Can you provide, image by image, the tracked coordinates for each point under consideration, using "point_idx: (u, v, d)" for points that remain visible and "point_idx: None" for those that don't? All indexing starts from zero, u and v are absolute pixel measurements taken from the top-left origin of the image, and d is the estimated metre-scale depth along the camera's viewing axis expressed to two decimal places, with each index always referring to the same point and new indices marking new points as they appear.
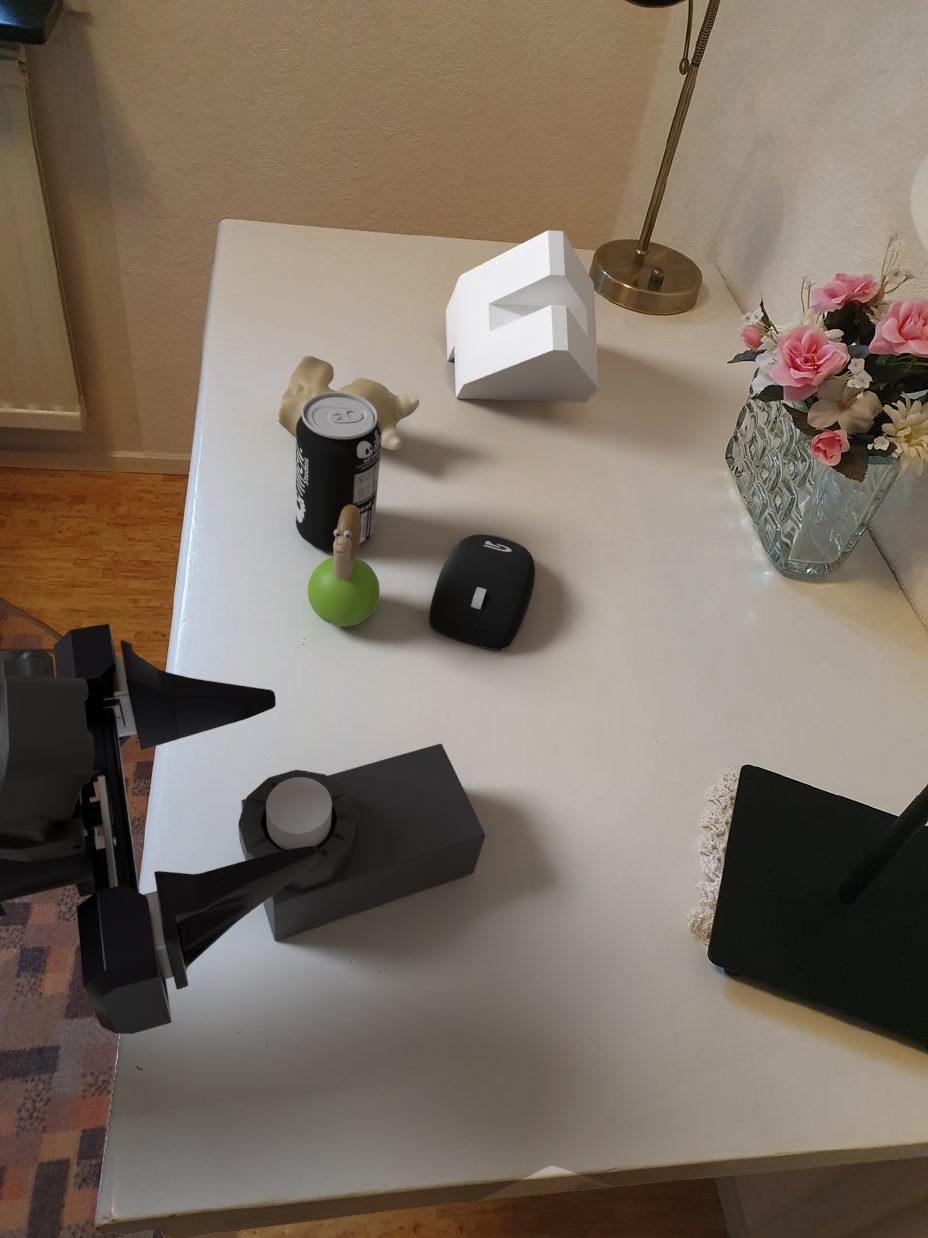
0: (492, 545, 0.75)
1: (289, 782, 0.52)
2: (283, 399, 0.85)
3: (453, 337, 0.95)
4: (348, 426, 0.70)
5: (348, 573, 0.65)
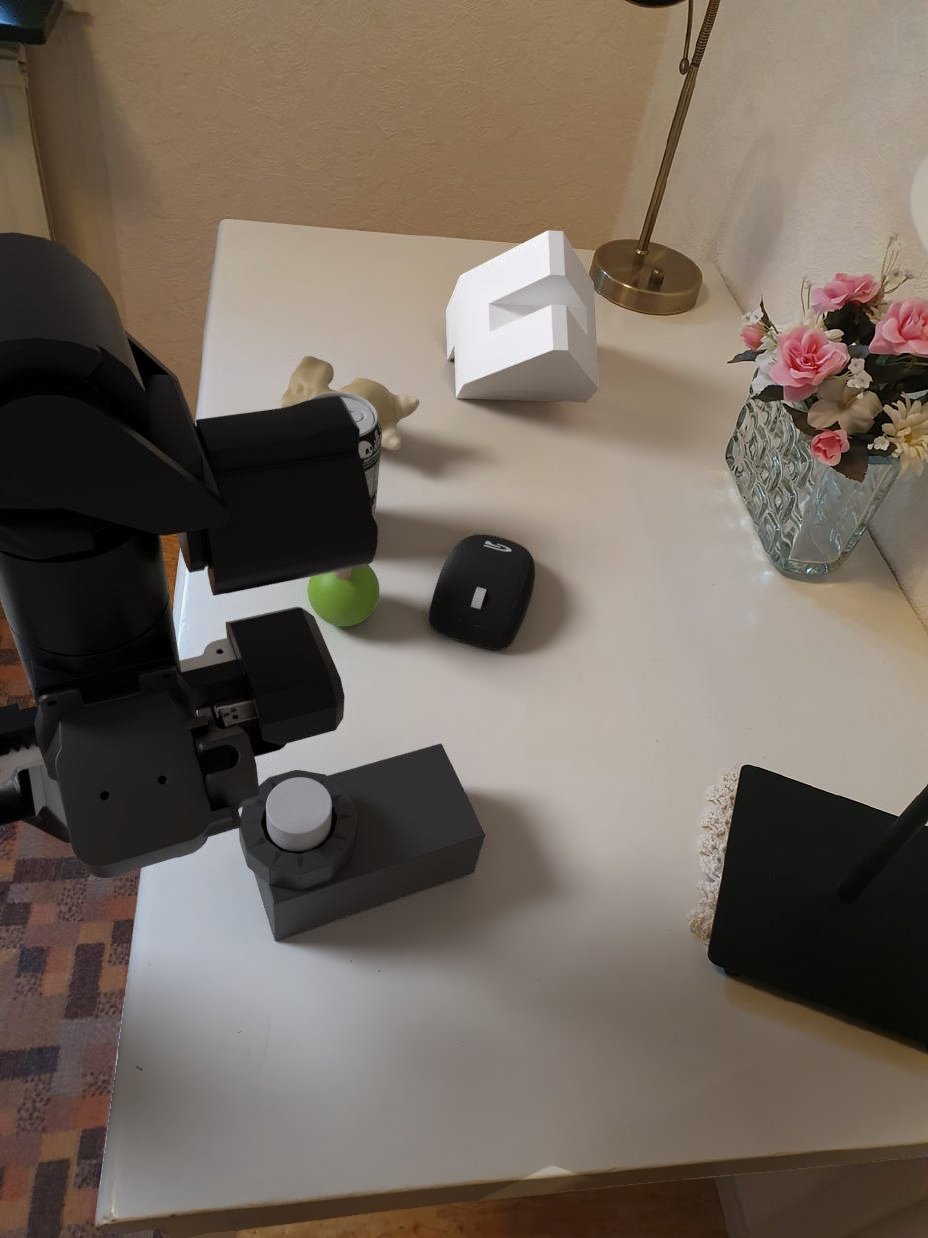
0: (492, 545, 0.75)
1: (289, 782, 0.52)
2: (283, 399, 0.85)
3: (453, 337, 0.95)
4: None
5: (348, 573, 0.65)
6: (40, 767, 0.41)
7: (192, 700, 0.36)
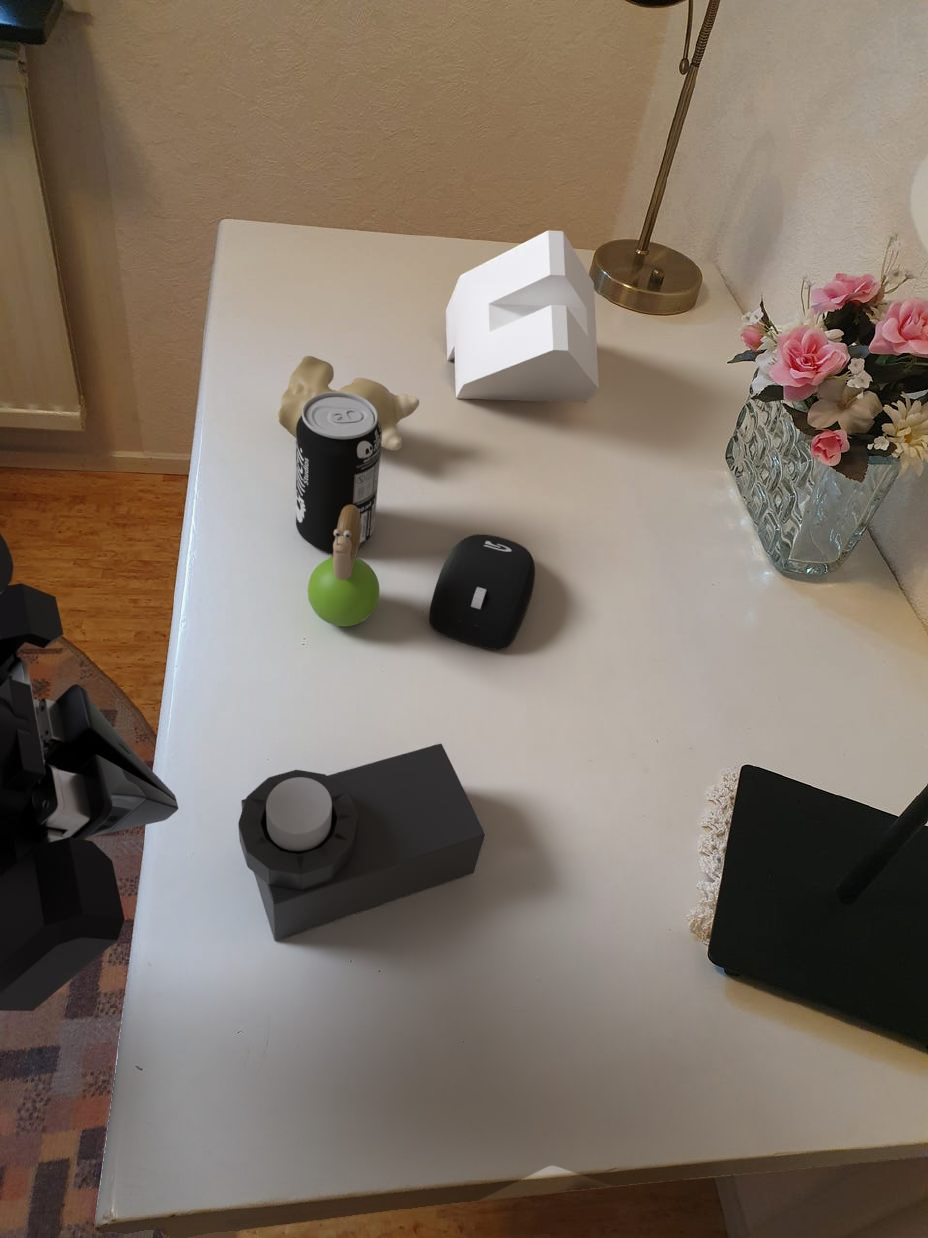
0: (492, 545, 0.75)
1: (289, 782, 0.52)
2: (283, 399, 0.85)
3: (453, 337, 0.95)
4: (348, 426, 0.70)
5: (348, 573, 0.65)
6: None
7: None
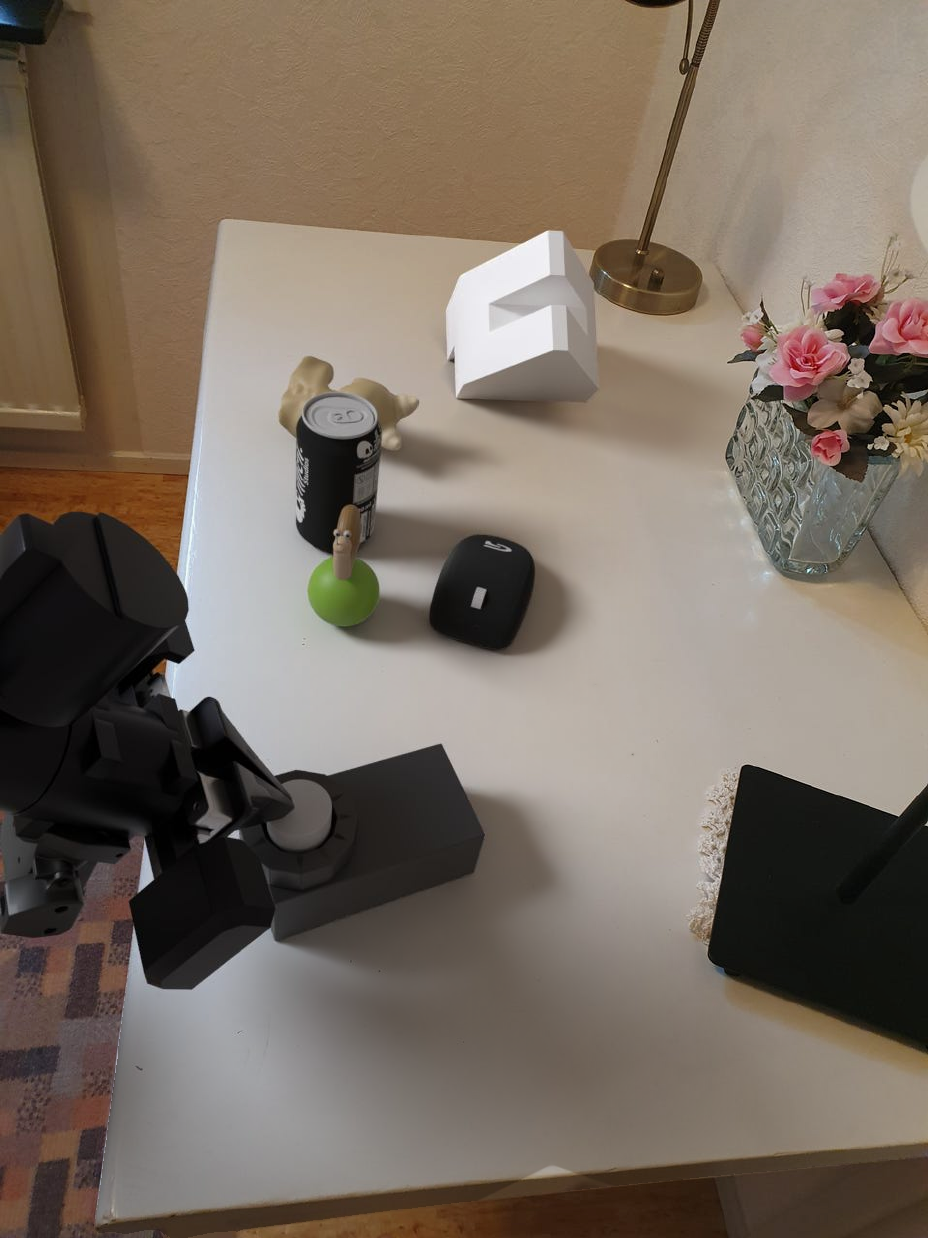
0: (492, 545, 0.75)
1: (289, 784, 0.52)
2: (283, 399, 0.85)
3: (453, 337, 0.95)
4: (348, 426, 0.70)
5: (348, 573, 0.65)
6: None
7: (65, 855, 0.41)
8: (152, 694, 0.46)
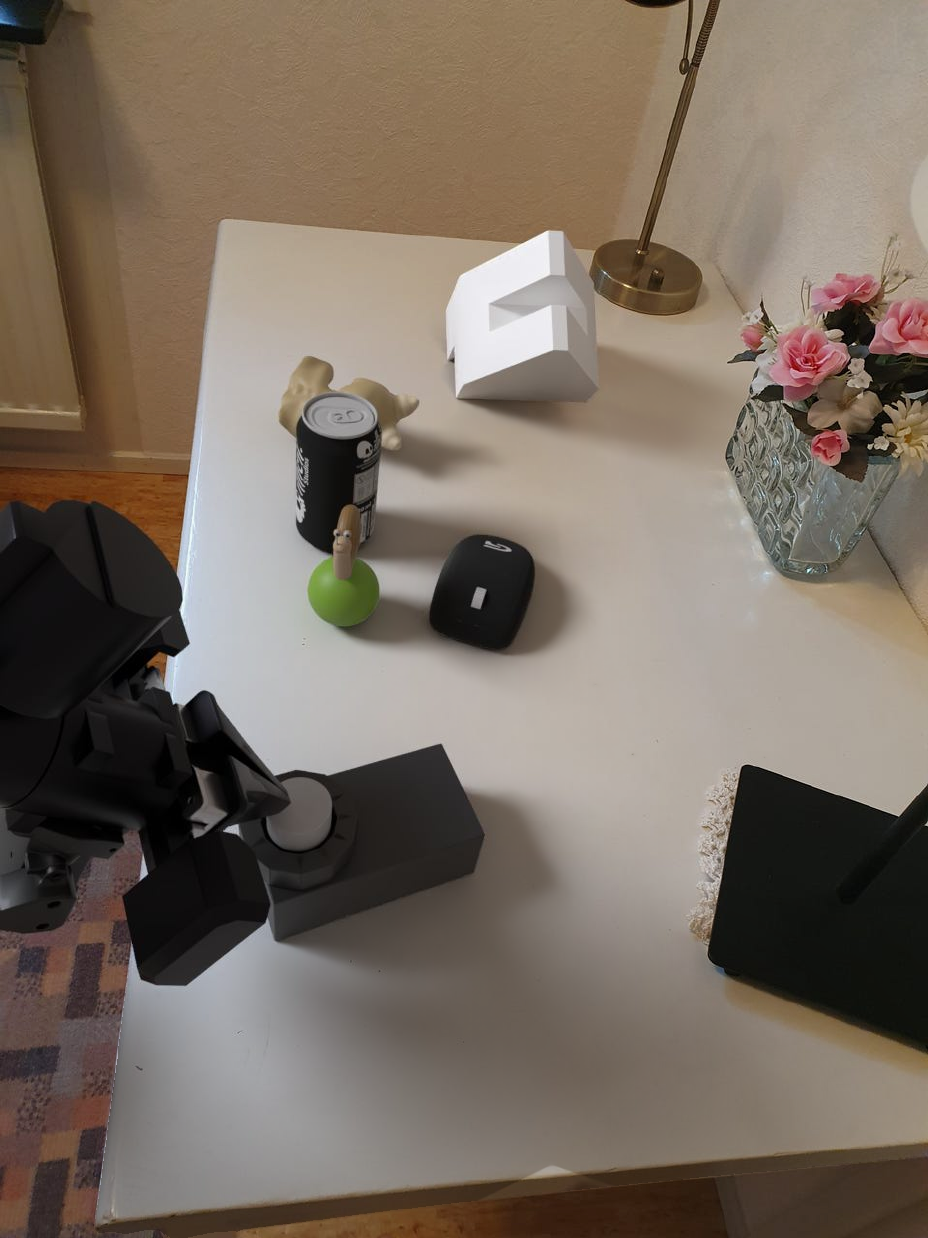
0: (492, 545, 0.75)
1: (289, 782, 0.52)
2: (283, 399, 0.85)
3: (453, 337, 0.95)
4: (348, 426, 0.70)
5: (348, 573, 0.65)
6: None
7: (58, 850, 0.40)
8: (147, 688, 0.46)
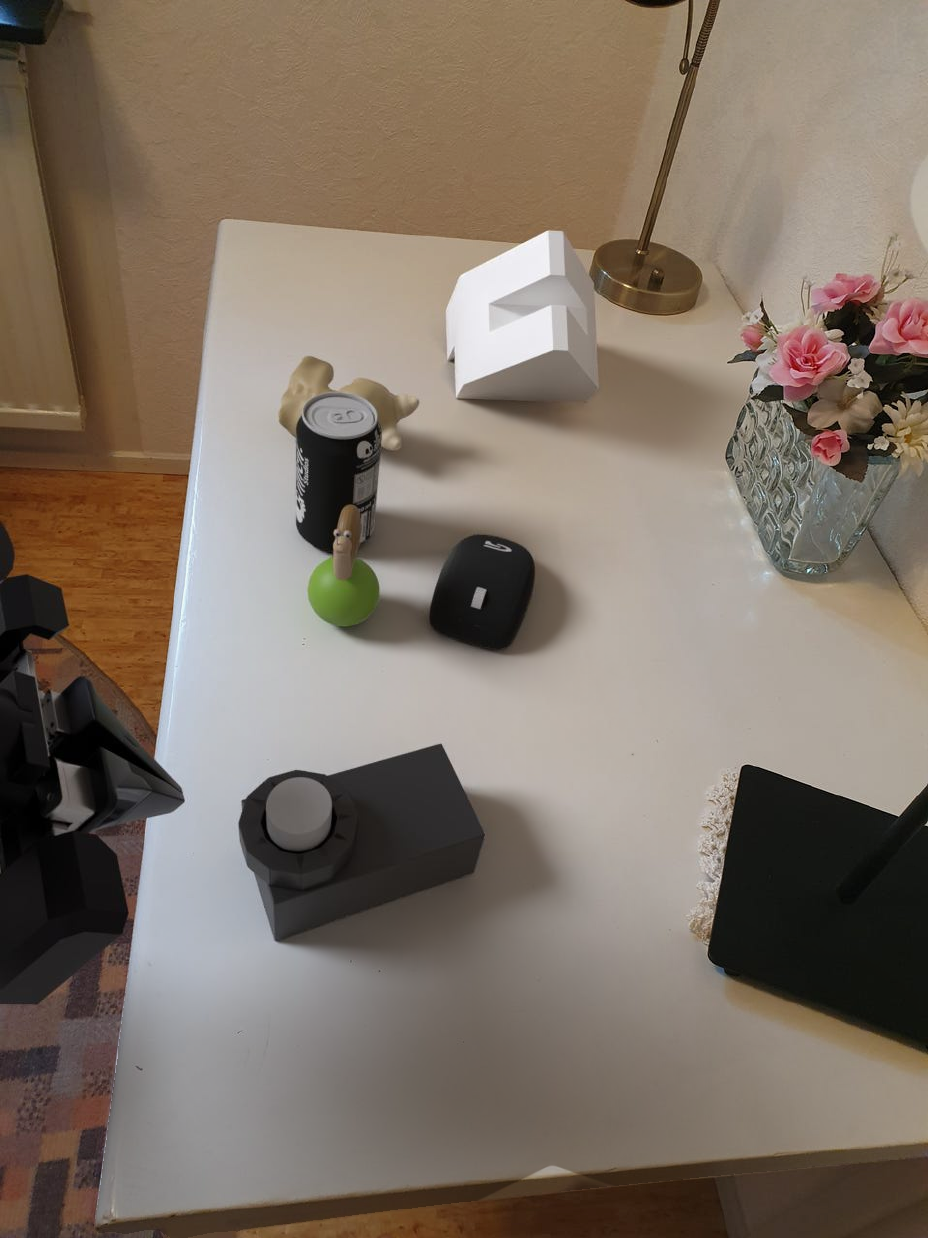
0: (492, 545, 0.75)
1: (289, 782, 0.52)
2: (283, 399, 0.85)
3: (453, 337, 0.95)
4: (348, 426, 0.70)
5: (348, 573, 0.65)
6: None
7: None
8: None
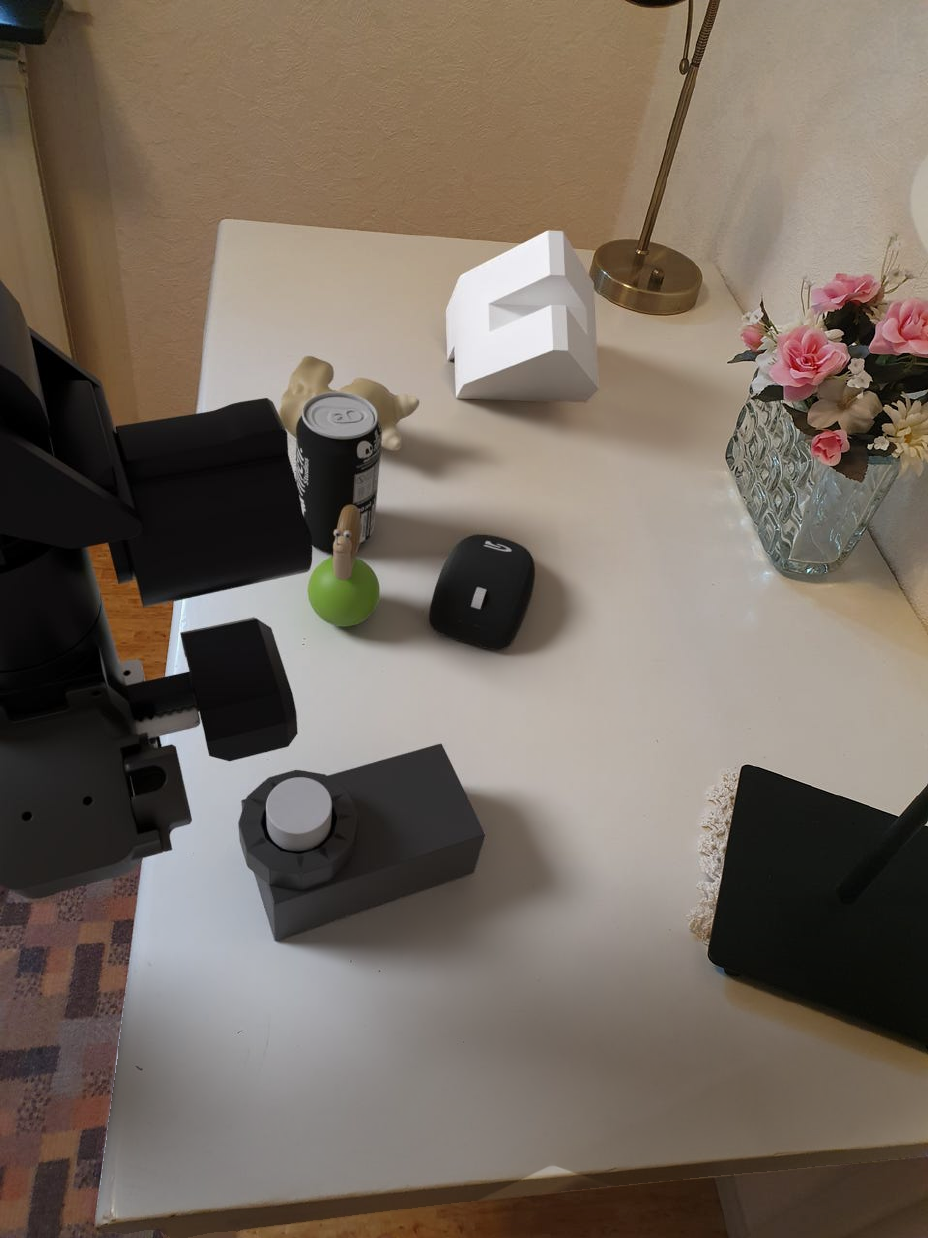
0: (492, 545, 0.75)
1: (289, 782, 0.52)
2: (283, 399, 0.85)
3: (453, 337, 0.95)
4: (348, 426, 0.70)
5: (348, 573, 0.65)
6: None
7: (127, 717, 0.35)
8: None
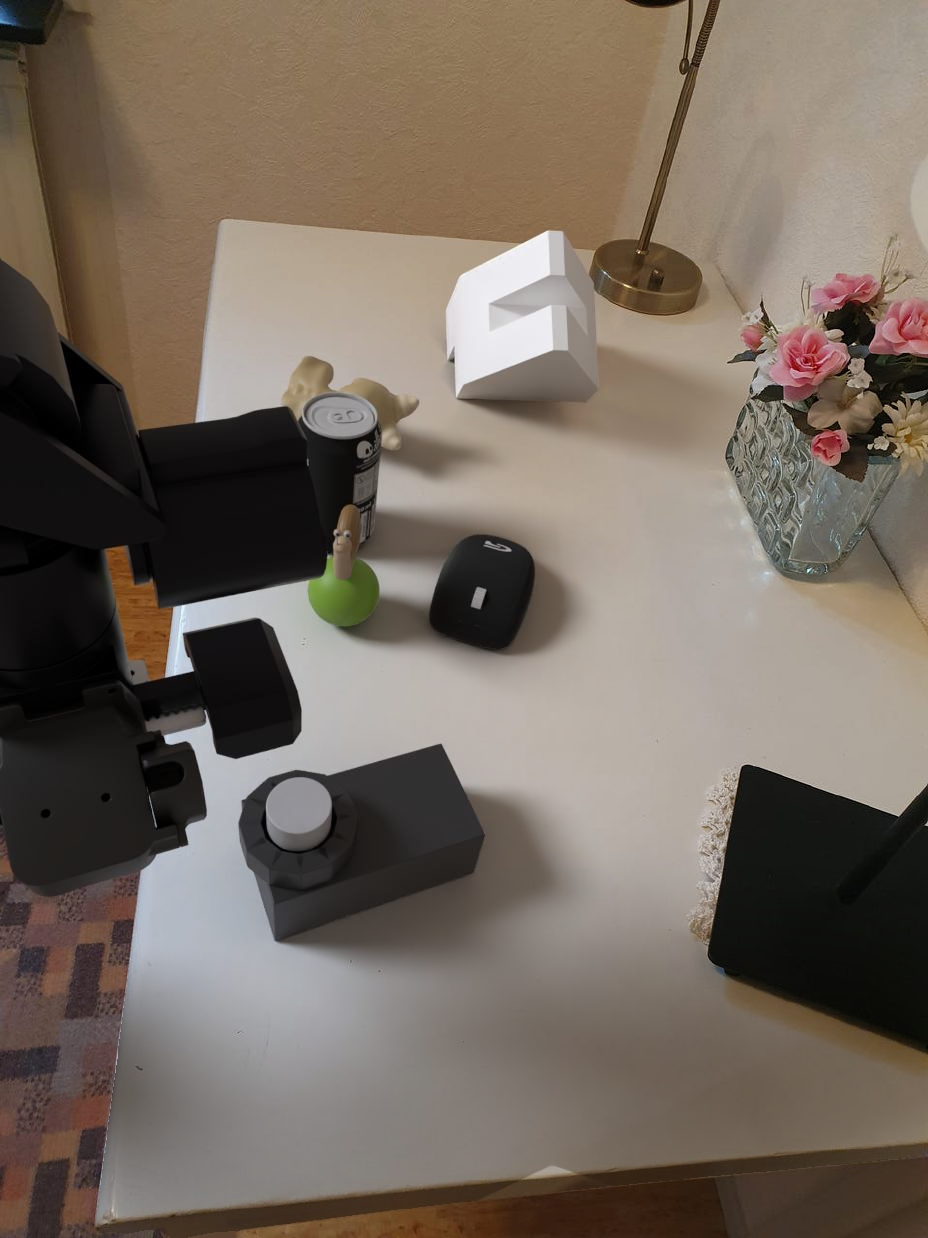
0: (492, 545, 0.75)
1: (289, 782, 0.52)
2: (283, 399, 0.85)
3: (453, 337, 0.95)
4: (348, 426, 0.70)
5: (348, 573, 0.65)
6: None
7: (140, 715, 0.35)
8: None
